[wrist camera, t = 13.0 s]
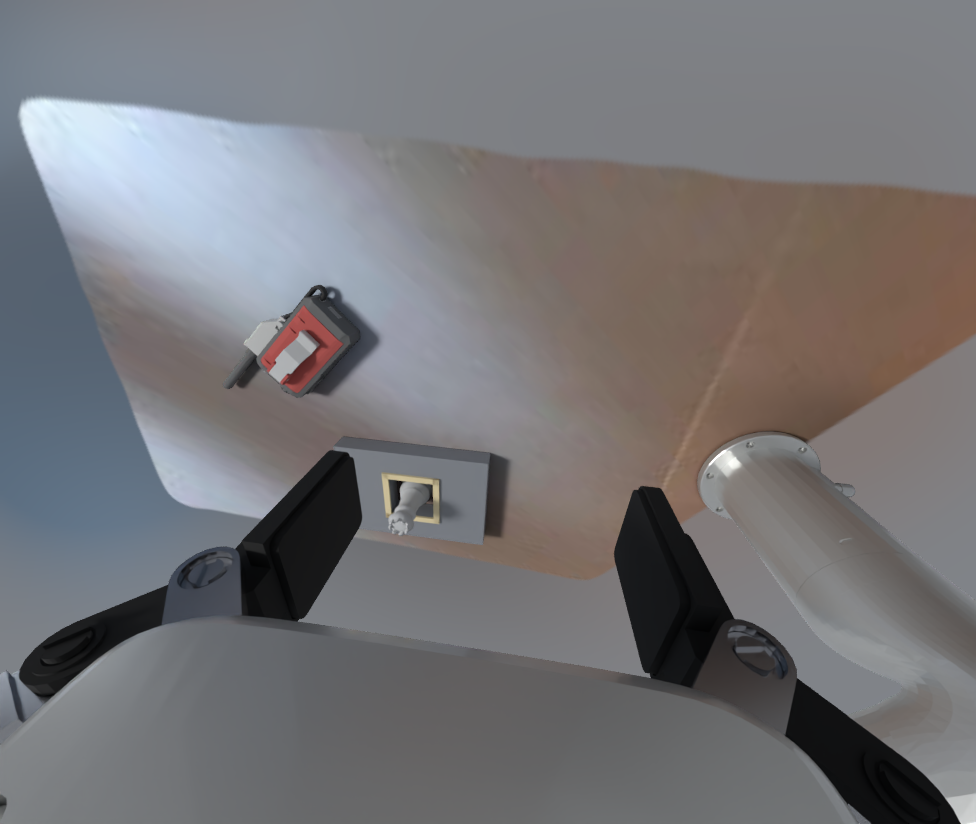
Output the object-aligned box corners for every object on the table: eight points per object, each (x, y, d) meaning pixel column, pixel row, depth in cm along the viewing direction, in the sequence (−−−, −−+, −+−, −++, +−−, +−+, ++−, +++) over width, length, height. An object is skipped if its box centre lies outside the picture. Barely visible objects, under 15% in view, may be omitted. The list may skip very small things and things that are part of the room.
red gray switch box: (311, 266, 37) (227, 377, 44) (284, 269, 33) (197, 390, 41) (372, 329, 39) (282, 424, 47) (354, 338, 35) (259, 440, 43)
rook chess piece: (439, 488, 48) (423, 531, 41) (418, 503, 50) (400, 546, 43) (417, 467, 47) (396, 508, 40) (396, 483, 49) (373, 524, 42)
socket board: (490, 453, 44) (488, 465, 42) (484, 531, 51) (482, 546, 48) (343, 436, 46) (332, 447, 44) (355, 514, 52) (346, 528, 50)
